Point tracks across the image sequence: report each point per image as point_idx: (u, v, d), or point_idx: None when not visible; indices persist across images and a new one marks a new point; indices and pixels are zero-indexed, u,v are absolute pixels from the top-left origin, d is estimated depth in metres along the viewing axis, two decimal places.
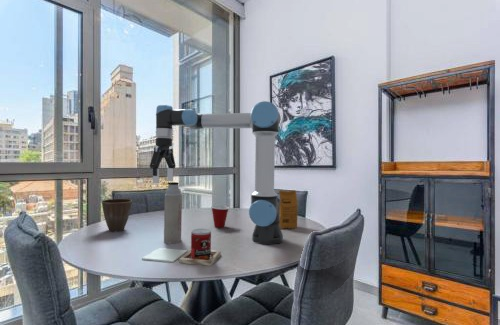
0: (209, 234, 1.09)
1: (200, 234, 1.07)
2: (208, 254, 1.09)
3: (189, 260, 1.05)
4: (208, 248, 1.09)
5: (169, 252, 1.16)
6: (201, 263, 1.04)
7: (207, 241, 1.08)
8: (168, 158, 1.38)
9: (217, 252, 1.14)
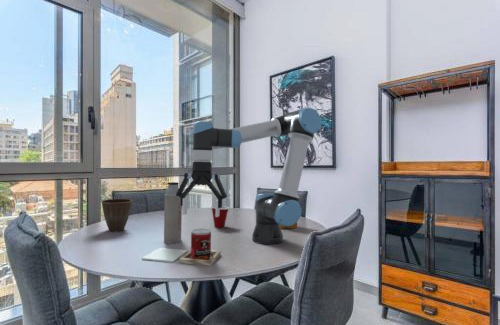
0: (209, 234, 1.09)
1: (200, 234, 1.07)
2: (208, 254, 1.09)
3: (189, 260, 1.05)
4: (208, 248, 1.09)
5: (169, 252, 1.16)
6: (201, 263, 1.04)
7: (207, 241, 1.08)
8: None
9: (217, 252, 1.14)
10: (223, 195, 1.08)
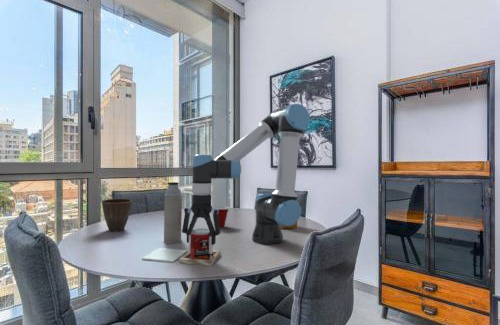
0: (209, 234, 1.09)
1: (200, 234, 1.07)
2: (208, 254, 1.09)
3: (189, 260, 1.05)
4: (208, 248, 1.09)
5: (169, 252, 1.16)
6: (201, 263, 1.04)
7: (207, 241, 1.08)
8: None
9: (217, 252, 1.14)
10: (217, 232, 1.08)
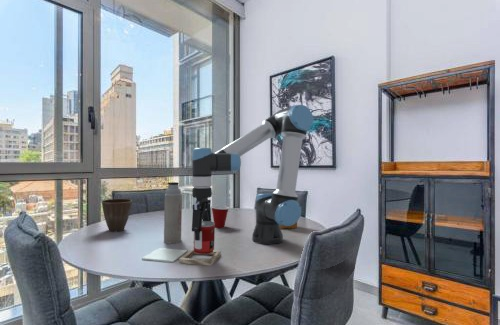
0: None
1: (214, 225, 1.10)
2: None
3: (189, 260, 1.05)
4: None
5: (169, 252, 1.16)
6: (201, 263, 1.04)
7: None
8: (205, 212, 1.13)
9: (217, 252, 1.14)
10: (210, 220, 1.17)
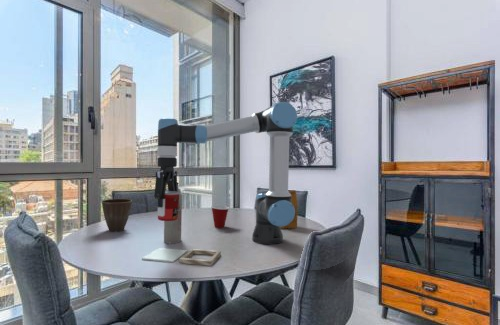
0: None
1: (178, 193, 1.12)
2: None
3: (189, 260, 1.05)
4: None
5: (169, 252, 1.16)
6: (201, 263, 1.04)
7: None
8: (171, 182, 1.16)
9: (217, 252, 1.14)
10: (177, 191, 1.20)
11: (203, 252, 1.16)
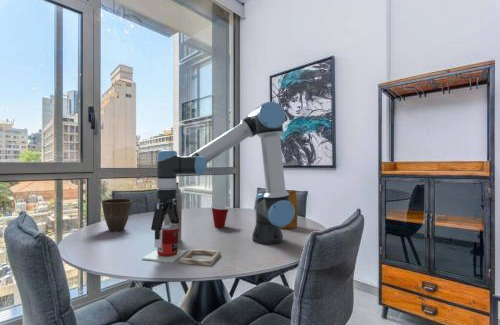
0: None
1: (177, 228, 1.13)
2: None
3: (189, 260, 1.05)
4: None
5: None
6: (201, 263, 1.04)
7: None
8: (171, 212, 1.16)
9: (217, 252, 1.14)
10: (178, 218, 1.22)
11: (203, 252, 1.16)
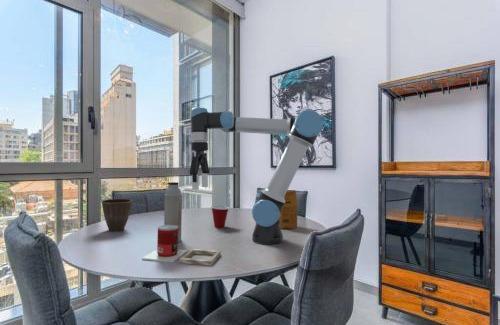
0: None
1: (176, 228, 1.12)
2: None
3: (189, 260, 1.05)
4: None
5: None
6: (201, 263, 1.04)
7: None
8: (203, 163, 1.32)
9: (217, 252, 1.14)
10: (208, 169, 1.38)
11: (203, 252, 1.16)
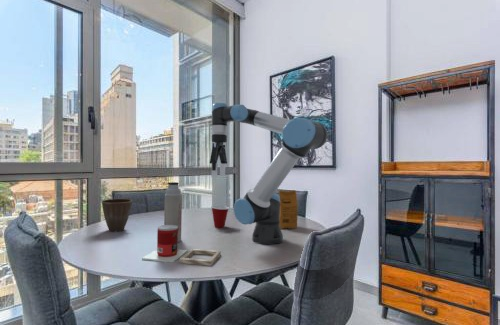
0: None
1: (176, 228, 1.12)
2: None
3: (189, 260, 1.05)
4: None
5: None
6: (201, 263, 1.04)
7: None
8: (222, 154, 1.45)
9: (217, 252, 1.14)
10: (226, 160, 1.51)
11: (203, 252, 1.16)
